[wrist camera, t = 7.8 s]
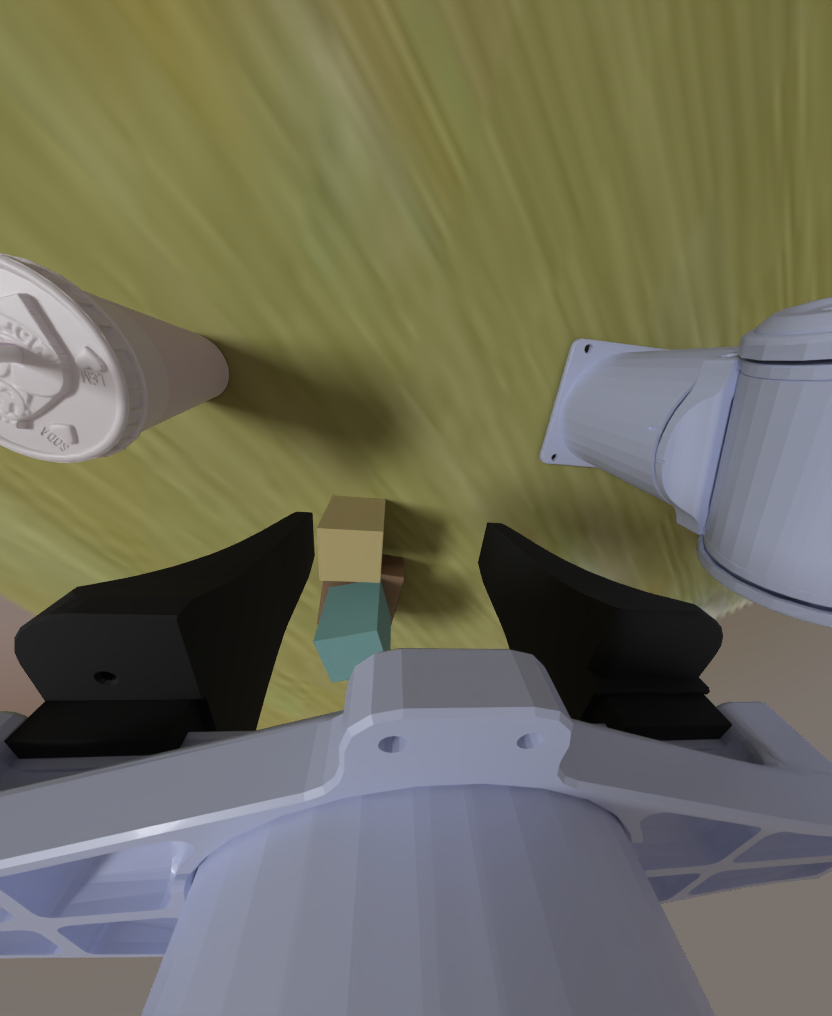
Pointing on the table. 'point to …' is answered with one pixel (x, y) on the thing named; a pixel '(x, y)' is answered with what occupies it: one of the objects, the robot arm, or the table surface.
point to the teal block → (352, 627)
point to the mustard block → (351, 539)
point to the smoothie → (90, 368)
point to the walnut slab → (389, 578)
